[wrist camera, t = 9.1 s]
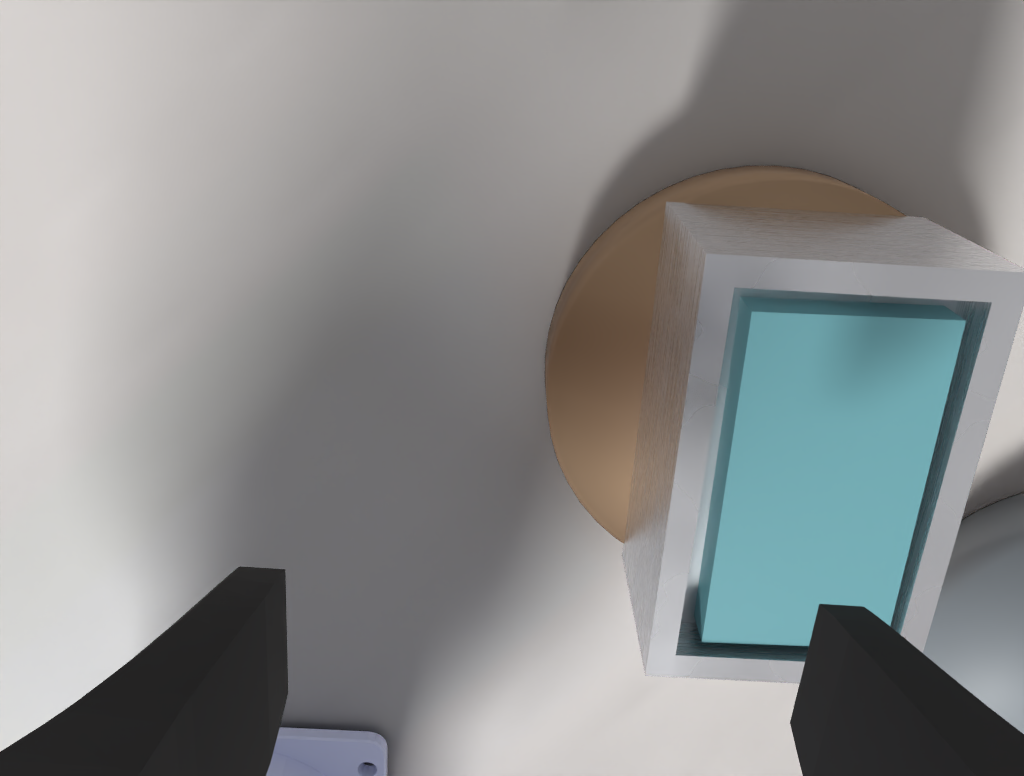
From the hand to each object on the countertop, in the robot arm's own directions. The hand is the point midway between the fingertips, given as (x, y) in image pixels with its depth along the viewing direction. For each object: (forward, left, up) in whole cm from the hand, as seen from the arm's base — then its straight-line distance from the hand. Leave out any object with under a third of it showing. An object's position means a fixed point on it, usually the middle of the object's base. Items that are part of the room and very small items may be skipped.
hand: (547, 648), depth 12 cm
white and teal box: (+1, -5, -8) cm, 9 cm away
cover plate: (+1, -5, -5) cm, 7 cm away
